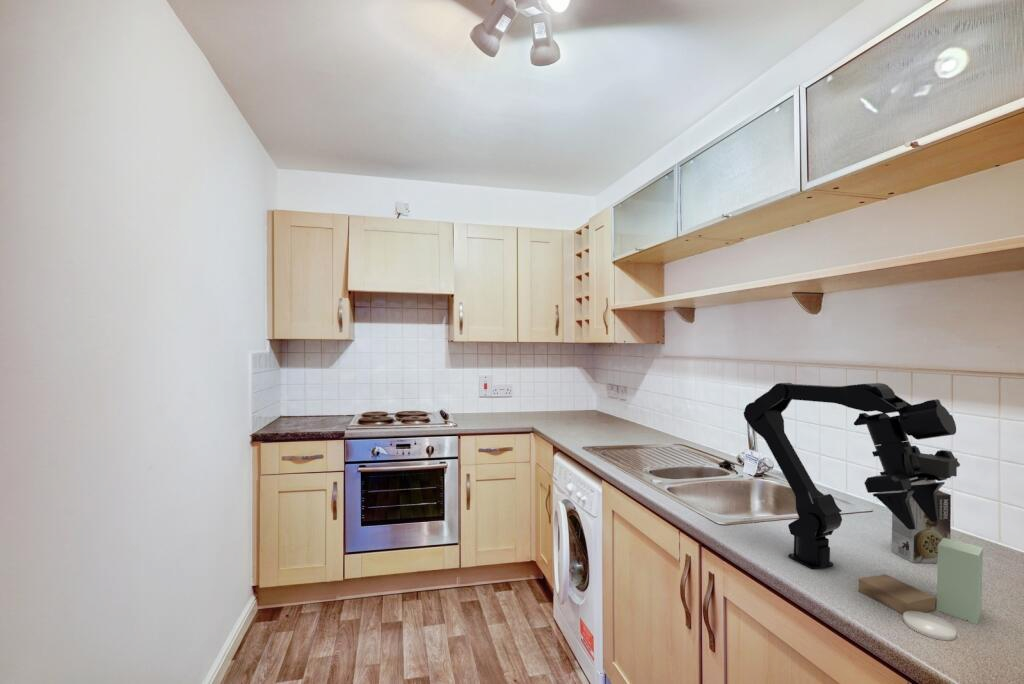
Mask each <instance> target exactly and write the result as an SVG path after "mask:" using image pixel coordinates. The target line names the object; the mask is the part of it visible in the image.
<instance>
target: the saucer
mask: <svg viewBox="0 0 1024 684" xmlns="http://www.w3.org/2000/svg"><path fill="white" fill-rule="evenodd" d="M902 616H903V617H902V618H903V619H902V620H903V623H904V624H905V625H906V626H907V627H908V628H909V627H910V629H911V630H913V631H914V630H915V632H916V631H917V632H916V633H918V632H919V633H918V634H920V633H921V635H922V636H925V635H926V637H928V638H932V639H935V640H938V641H939V640H940V641H947V642H949V641H954V640H955V639H957V629H956V628H955V626H954V625H953V624H951V623H950V622H949V621H947V620H945V619H944V618H941V617H939V616H936V615H934V614H931V613H929V612H925V613H924V612H919V611H906V612H904V614H902Z"/></svg>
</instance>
